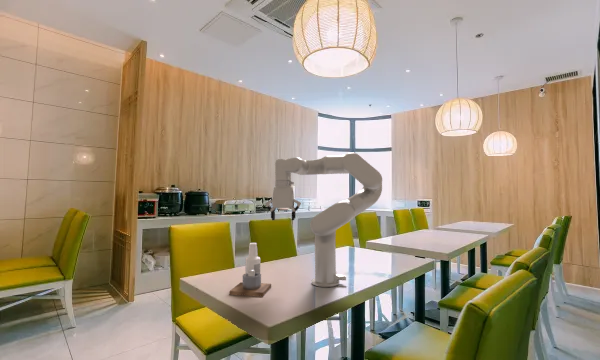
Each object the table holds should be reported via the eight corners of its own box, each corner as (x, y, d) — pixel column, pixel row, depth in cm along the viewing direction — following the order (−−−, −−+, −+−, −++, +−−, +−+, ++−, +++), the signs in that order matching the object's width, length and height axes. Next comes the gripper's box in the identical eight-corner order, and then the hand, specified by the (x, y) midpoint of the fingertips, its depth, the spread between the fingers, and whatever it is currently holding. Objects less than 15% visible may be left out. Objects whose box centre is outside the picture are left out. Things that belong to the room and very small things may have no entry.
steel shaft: (255, 286, 118) (255, 269, 119) (253, 288, 115) (253, 271, 116) (248, 285, 119) (249, 269, 119) (246, 288, 116) (246, 270, 116)
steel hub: (262, 284, 120) (262, 272, 120) (257, 290, 113) (257, 277, 113) (246, 284, 121) (246, 272, 122) (240, 289, 114) (240, 276, 114)
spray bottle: (261, 284, 126) (261, 243, 127) (246, 285, 124) (246, 244, 125) (259, 280, 132) (259, 241, 134) (244, 281, 130) (244, 242, 132)
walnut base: (271, 287, 122) (271, 283, 122) (263, 296, 110) (263, 292, 110) (240, 285, 124) (240, 282, 124) (229, 294, 112) (229, 290, 112)
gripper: (301, 184, 138) (302, 219, 136) (267, 185, 140) (267, 219, 139) (299, 183, 130) (299, 220, 129) (263, 184, 133) (263, 220, 132)
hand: (283, 220), depth 134 cm, fingers open, 9 cm apart
